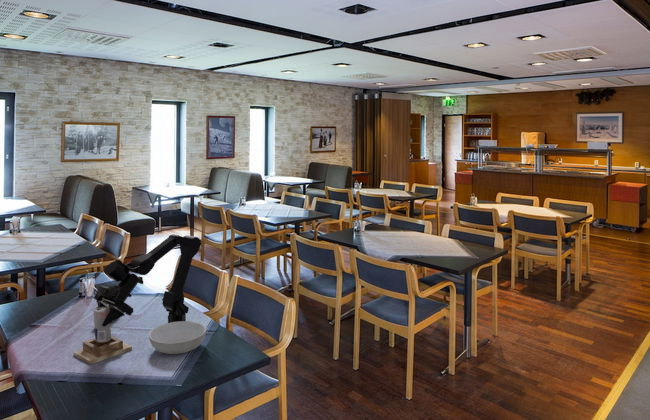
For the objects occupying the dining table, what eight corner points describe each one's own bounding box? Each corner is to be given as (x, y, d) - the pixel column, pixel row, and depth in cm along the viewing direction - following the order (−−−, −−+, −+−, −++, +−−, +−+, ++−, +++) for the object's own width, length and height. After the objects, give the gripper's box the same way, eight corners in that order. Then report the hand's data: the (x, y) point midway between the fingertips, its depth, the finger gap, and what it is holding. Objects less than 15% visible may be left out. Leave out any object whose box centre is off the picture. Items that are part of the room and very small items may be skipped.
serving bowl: (147, 341, 192) (147, 325, 191) (201, 334, 200) (201, 318, 199) (151, 364, 173) (150, 346, 172) (210, 355, 181) (210, 337, 180)
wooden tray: (114, 341, 192) (114, 331, 191) (132, 349, 185) (131, 338, 184) (73, 355, 179) (73, 344, 178) (90, 364, 172) (90, 353, 171)
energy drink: (101, 336, 184) (100, 306, 183) (114, 337, 183) (112, 307, 181) (92, 342, 179) (90, 311, 177) (104, 343, 178) (103, 312, 176)
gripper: (96, 272, 186) (69, 308, 179) (124, 281, 175) (96, 320, 168) (116, 287, 194) (91, 322, 187) (144, 296, 183) (118, 334, 176)
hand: (98, 324), depth 179 cm, fingers closed on energy drink, 5 cm apart
